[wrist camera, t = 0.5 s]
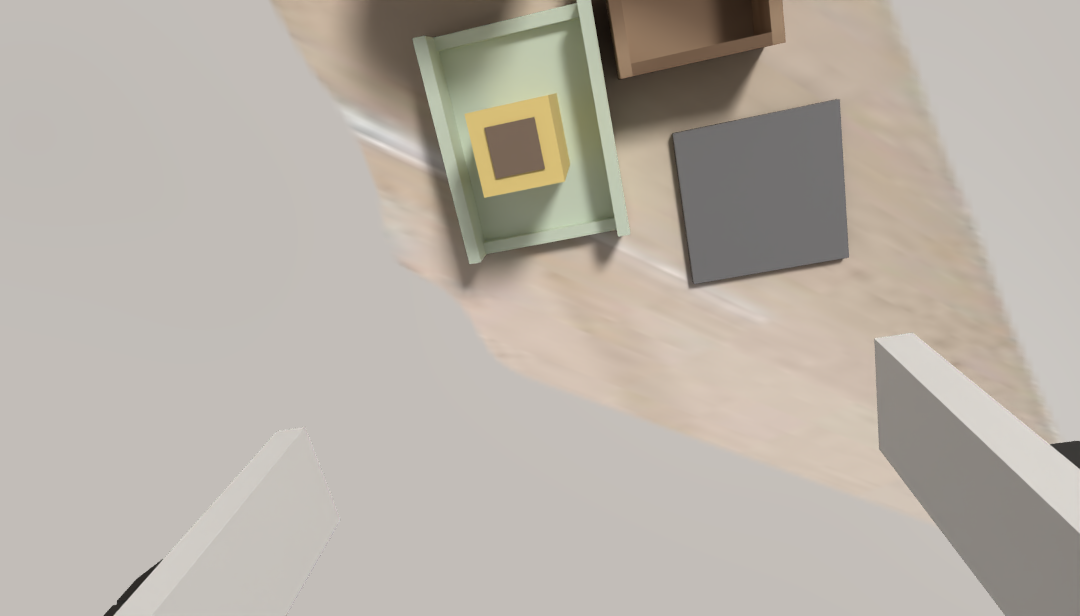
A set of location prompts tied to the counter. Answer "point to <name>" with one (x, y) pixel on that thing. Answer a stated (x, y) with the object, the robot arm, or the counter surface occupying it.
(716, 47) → the walnut box
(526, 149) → the yellow block
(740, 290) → the counter surface
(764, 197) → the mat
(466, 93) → the sage tray
